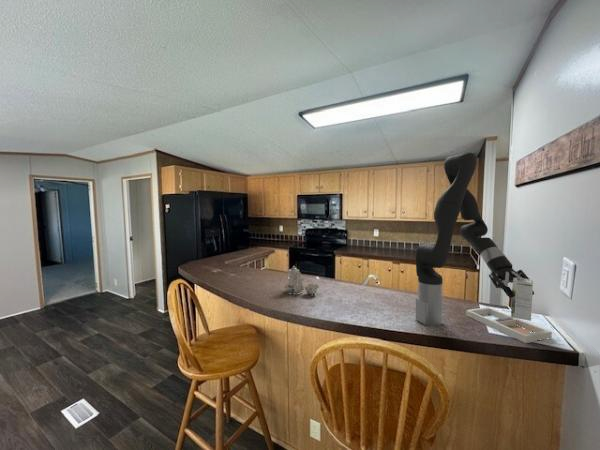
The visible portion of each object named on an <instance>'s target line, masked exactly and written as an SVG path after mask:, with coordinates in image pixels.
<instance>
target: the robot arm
mask: <svg viewBox="0 0 600 450" xmlns="http://www.w3.org/2000/svg"><path fill="white" fill-rule="evenodd" d="M477 161H478V160H477V157H476V155H475V154H474V152H464V153H460V154H454V155H450V156H448V157H447V158H446V159H445V161H444V163H443V168H444V173H445V175H446V177H447V180H448V182H449V184H450V186H449V187H448V188H447V189H446V190H445V191H443V193H442V194H441V195H440V196H439V198H438V199H437V202H436V205H435V208H434V212H433V219H434V222H435V227H436V228H437V237H436V241H435V244H430V243H421V244H420V245H418V246H417V249H416V251H415V272H416V276H417V297H416V298H415V320H416V321H417V322H420V323H421V324H423V325H424V326H431V327H437V326H438V327H439V326H441V325H443V323H442V321H443V282H444V281H443V276H442V275H441V274H440V273H438V272H437V271H436V270H435V269H434V268H437V269H441V268H443V267H444V266H445V264H446V263H447V262H448V258H449V256H450V255H449V254H450V250H451V244H452V239H453V235H454V232H455V231H454V230H455V228H456V225H457V220H458V218H459V216H460V217H461V219H462V220H464V221H473V222H471V223H468V224H463V225H461V227H460V228H459V229H460V230H459V233H460V235H461V236H462V238H463V239H464V240H465V241H466V242H468V243H469V244H470V245H472V246H473V247H474V248H475V249H476V250H477V252H478V254H479V255H480V256H481V258H482V260H483V262H484V263H485V265H486V266H487V267H488V268H489V270H490V271H491V272H490V273H489V274H488V277H489V280H491V282H492V284H493V285H494V287H495V288H497V289H499V288H500V289H501V290H503V292H504V294H506V296H507V297H508V298H510V299H512V297H514V296H515V294H514V293H513V291H512V289H511V287H510V286H509V283H511V284H513V278H524V279H529V280H531V279H530V278H529V277H528V276H527V274H526V273H525V272H524V271H523V270H522V269H519V270H514V268H513V264H512V262H511V261H510V260H509V259H508V257H507V256H506V255H505V253H503V251H502V250H501V249H500V248H499V247H498V245H496V243H495V242H494V240H493V239H492V238H490V237H485V236H486V235H487V233H488V232H489V231H488V230H489V229H488V226H487V224H486V223H485V221H484V220H483V217H482V216H481V214H480V211H479V206H478V201H477V199H476V197H475V196H474V195H473V193H472V192H471V191H470V190H469V189H468V188H469V185H470V183H471V180H472V178H473V176H474V174H475V171H476V167H477ZM483 236H484V237H483ZM446 265H447V264H446ZM533 295H535V292H534V290H533V291H532V296H533Z"/></svg>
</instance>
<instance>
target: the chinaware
mask: <svg viewBox="0 0 600 450" xmlns="http://www.w3.org/2000/svg"><path fill="white" fill-rule="evenodd" d="M301 273H302V272H301V271H300V269H298V268H297V267H296V266H295V265H293V266H292V267H291V268H290V269H287V271H286V278H287V283H286V285H285V291H286V292H288V293H291V294H298V293H300V292H303V290H304V289H305V292H306V293H307V294H308V295H309V294H310V295H311V296H312V297H313V296H314V295H313V294H316V293H317V292H318V289H319V288H320V286H319V284H316V283H315V284H314V283H307V284H304V286H303V282H304V280H305V278H303V277H301ZM288 293H287V294H288ZM298 295H299V294H298ZM310 295H309V296H310ZM311 296H310V297H311Z"/></svg>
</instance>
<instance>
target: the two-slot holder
mask: <svg viewBox="0 0 600 450" xmlns="http://www.w3.org/2000/svg"><path fill="white" fill-rule="evenodd" d="M484 315H491V316H493V317H495V318H497V319H490V318H488V317H486V316H484ZM465 316H466V317H468V318H470V319H472V320H474V321H477V322H479V323H481V324H484V325H485V326H488V327H490V328H492V329H494V330H497V331H499V332H500V333H503V334H505V335H507V336H509V337H511V338H513V339H517V341H520V342H522V343H525V344H528V343H529V344H530V343H533V342H534V341H535V342H538V341H537V340H540V339H546V340H548V339H547V338H551V339H552V336H553V332H552V331H550V330H548V329H545V328H543V327H541V326H538V325H535V324H532V323H530V322H527V321H526V320H525V321H524V320H523V319H518V318H513V317H511V314H508V313H504V312H502V311H498V310H496V309H494V308H491V307H489V306H487V307H480V308H479V307H478V308H472V309H465ZM515 325H516V326H515ZM517 325H518V326H517ZM509 326H510V327H509ZM519 326H520V327H519ZM522 327H523V328H525V329H523V328H522ZM526 329H527V330H526ZM529 330H530V331H533V333H530V331H529ZM534 332H535V333H534ZM540 341H541V340H540ZM535 342H534V343H535Z"/></svg>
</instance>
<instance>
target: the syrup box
mask: <svg viewBox="0 0 600 450" xmlns="http://www.w3.org/2000/svg"><path fill="white" fill-rule="evenodd" d="M529 279H530V278H529ZM529 279H524V278H513V283H512V289H511V290H512V291H513V293H514V294H515V296H514V297H512V298H511V306H510V307H511V311H510V313H511V314H510V316H511V317H513V318H517V319H520V320H523V321H524V320H525V321H529V322H531V321H532V310H533V309H532V307H533V305H532V304H533V295H532V291H534V290H533V285H534V281H533V280H532V279H530V280H529Z"/></svg>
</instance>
